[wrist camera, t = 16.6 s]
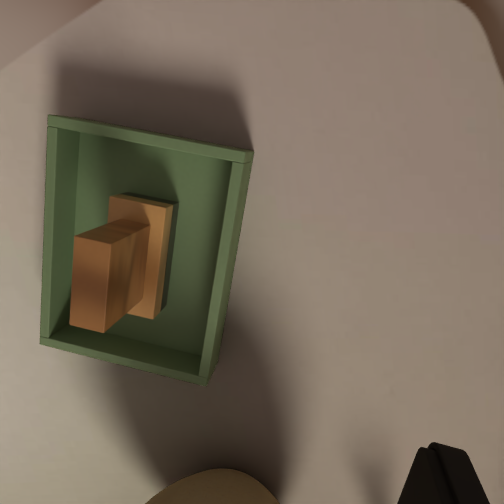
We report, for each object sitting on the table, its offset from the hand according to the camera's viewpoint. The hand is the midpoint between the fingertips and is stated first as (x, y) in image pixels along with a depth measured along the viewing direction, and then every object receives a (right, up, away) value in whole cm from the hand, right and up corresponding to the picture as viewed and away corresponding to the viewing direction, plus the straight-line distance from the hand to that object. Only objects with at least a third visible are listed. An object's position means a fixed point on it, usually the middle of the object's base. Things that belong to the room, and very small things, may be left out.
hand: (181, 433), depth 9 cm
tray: (-7, +4, +26) cm, 27 cm away
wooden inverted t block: (-7, +4, +25) cm, 27 cm away
